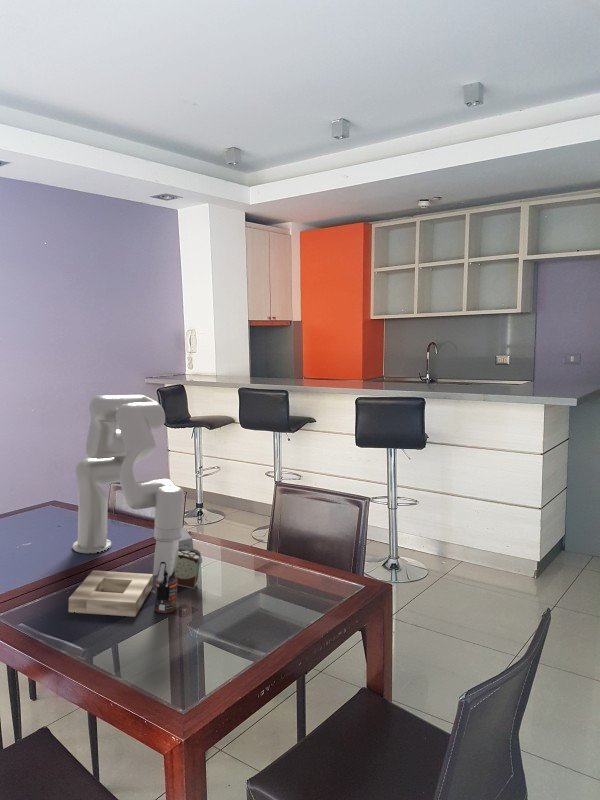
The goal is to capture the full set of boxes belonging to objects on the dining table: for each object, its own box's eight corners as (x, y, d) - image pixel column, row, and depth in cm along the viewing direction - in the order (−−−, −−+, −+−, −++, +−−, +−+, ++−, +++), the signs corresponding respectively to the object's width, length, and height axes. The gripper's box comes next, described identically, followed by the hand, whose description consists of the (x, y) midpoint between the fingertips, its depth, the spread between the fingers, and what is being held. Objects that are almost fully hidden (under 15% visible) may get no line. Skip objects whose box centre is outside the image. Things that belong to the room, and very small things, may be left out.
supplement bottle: (165, 616, 159) (166, 577, 157) (149, 609, 162) (151, 570, 160) (180, 608, 164) (182, 569, 162) (165, 602, 167) (166, 564, 166)
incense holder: (162, 559, 196) (163, 529, 195) (187, 556, 200) (188, 527, 199) (170, 571, 187) (171, 540, 186) (195, 568, 191) (196, 537, 190)
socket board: (92, 583, 176) (93, 570, 175) (152, 587, 176) (153, 574, 175) (68, 612, 158) (68, 598, 157) (135, 616, 158) (135, 602, 157)
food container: (208, 582, 182) (209, 551, 180) (198, 590, 176) (200, 558, 175) (173, 574, 186) (174, 543, 184) (163, 581, 180) (164, 550, 178)
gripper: (162, 520, 169) (160, 579, 171) (146, 542, 151) (143, 608, 154) (188, 521, 169) (185, 581, 171) (175, 544, 151) (172, 610, 154)
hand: (165, 593), depth 162 cm, fingers closed on supplement bottle, 6 cm apart
